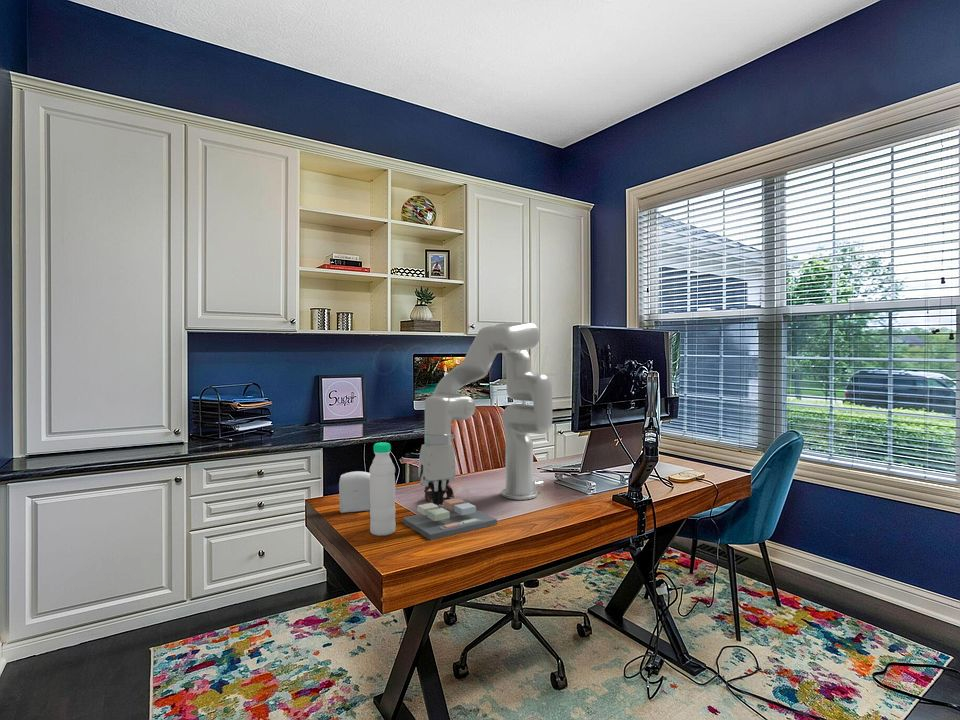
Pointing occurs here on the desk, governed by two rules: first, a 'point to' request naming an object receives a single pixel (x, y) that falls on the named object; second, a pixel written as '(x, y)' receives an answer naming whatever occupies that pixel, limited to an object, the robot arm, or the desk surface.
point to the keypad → (448, 524)
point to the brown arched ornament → (447, 490)
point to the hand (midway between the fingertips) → (437, 503)
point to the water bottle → (382, 491)
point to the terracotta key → (452, 503)
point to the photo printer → (354, 492)
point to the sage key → (438, 514)
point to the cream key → (426, 508)
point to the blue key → (464, 508)
